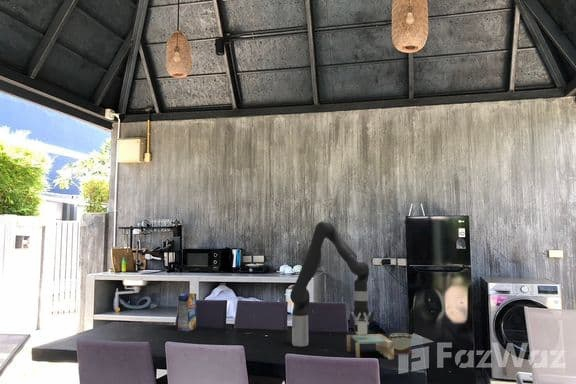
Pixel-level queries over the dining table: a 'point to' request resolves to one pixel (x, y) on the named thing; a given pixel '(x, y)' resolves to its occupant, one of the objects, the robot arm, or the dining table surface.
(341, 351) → the dining table surface
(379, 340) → the trapdoor
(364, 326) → the beige block
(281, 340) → the dining table surface
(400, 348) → the food container
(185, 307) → the juice carton
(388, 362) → the dining table surface
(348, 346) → the trapdoor frame
